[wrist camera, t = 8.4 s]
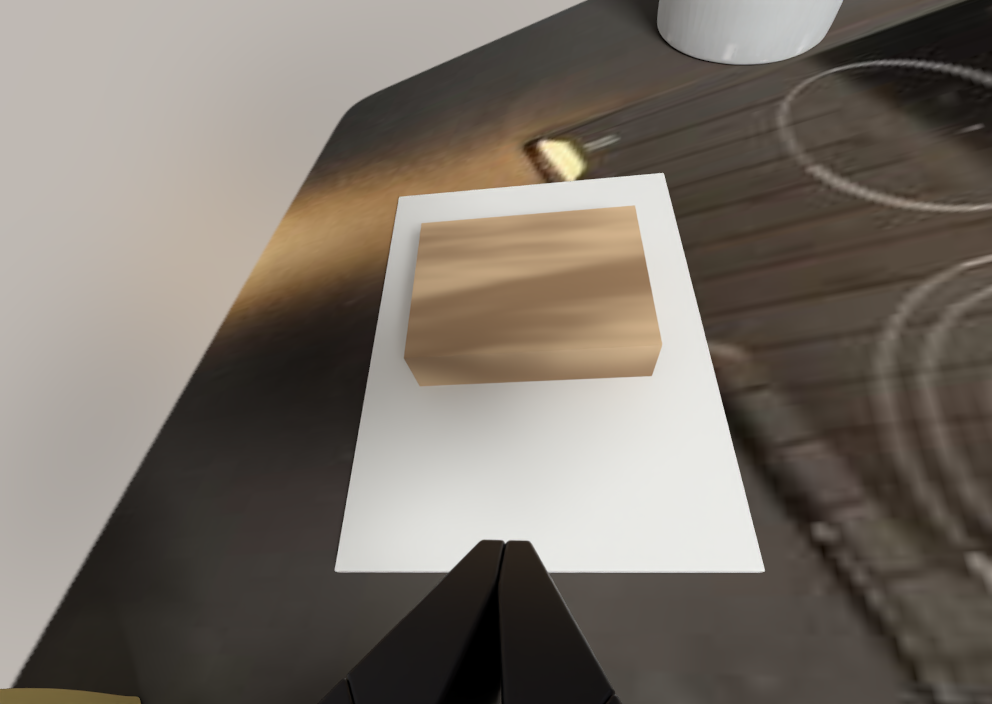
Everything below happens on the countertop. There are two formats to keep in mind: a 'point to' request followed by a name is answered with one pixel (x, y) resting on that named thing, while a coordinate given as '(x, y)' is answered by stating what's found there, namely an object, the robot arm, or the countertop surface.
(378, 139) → the countertop surface
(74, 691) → the cheese
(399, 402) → the mat
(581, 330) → the oak board
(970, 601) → the countertop surface
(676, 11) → the utensil holder
